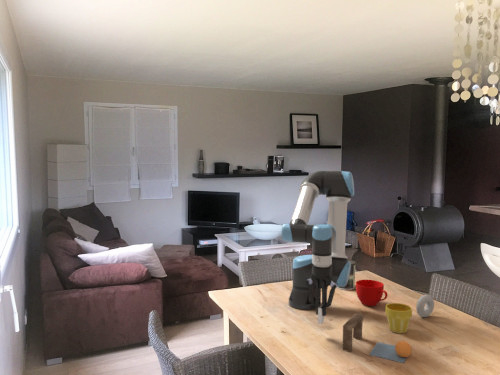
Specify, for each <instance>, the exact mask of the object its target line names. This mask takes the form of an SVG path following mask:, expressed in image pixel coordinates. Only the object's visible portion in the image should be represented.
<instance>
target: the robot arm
mask: <svg viewBox="0 0 500 375" xmlns="http://www.w3.org/2000/svg"><path fill="white" fill-rule="evenodd" d="M298 190H299V192H298V193H299V195H298V198H297V201H296V203H295V206H294V210H293V213H292V216H291V218H290V222H289V223H284V224H282V227H281V231H280V232H281V239H282V241H283V242H284V241H285V242H291V243H305V244H311V245H312V246H311V247H312V249H311V250H312V251H311V254H304V255H299V256H296V257H294V258H293V261H292V289H291V291H290V294H289V297H288V305H289V306H290V307H292V308H294V309H298V310H305V311H306V310H308V311H309V310H315V314H316V315H317V324H318V325H322V324H324V323H325V317H326V315H327V308H330V307H331V306H332V304H333V300H334V295H335V292H336V289H338V288H337V286H339V287H344V286H346V285H347V283H348V279H349V275H350V269H351V263H350V262H349V261H348V260H349V258H348V256H347V255H346V236H347V234H346V233H347V218H348V217H347V216H348V215H347V214H348V203H349V202H350V201H351V200H352V197H354V196H355V182H354V177H353V174H352V172H351V171H343V170H318V171H317V170H316V171H315V172H312V173H310V174H309V175H307V177H306V178H305V179H303V181H302V182H301V184H300V186H299V188H298ZM319 195H320V196H325V199H326V200H327V201H328V213H327V214H328V215H327V216H328V217H327V223H326V224H321V223H320V224H315V225H314V224H309V221H310V218H311V214H312V211H313V208H314V205H315V201H316V199H317V198H318V197H319ZM329 286H330V290H329V295H328V289H329Z"/></svg>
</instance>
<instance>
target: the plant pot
mask: <svg viewBox="0 0 500 375" xmlns="http://www.w3.org/2000/svg"><path fill="white" fill-rule="evenodd" d="M385 315H386V317H387V321H388V325H389V326H388V327H389V330H390V331H391V332H393V333H395V334H396V333H397V334H405V333H407V332H408V328H409V323H410V320H411V318H412V316H413V308H412V307H411V306H410V305H409V304H406V303H401V302H392V303H387V304H385Z"/></svg>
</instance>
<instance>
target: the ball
mask: <svg viewBox="0 0 500 375" xmlns="http://www.w3.org/2000/svg"><path fill="white" fill-rule="evenodd" d="M394 346H395V351H396V353H397V354H398V355H399V356H400V357H404V358H405V357H407V358H409V356H410V355H411V354H412V346H411V345H410V344H409V342H407V341H405V340H401V341H398V342H397V343H395V345H394Z"/></svg>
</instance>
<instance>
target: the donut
mask: <svg viewBox="0 0 500 375" xmlns="http://www.w3.org/2000/svg"><path fill="white" fill-rule="evenodd" d="M434 308H435V301H434V298H433V297H432V296H431V295H429V294H422V295H421V296H420V297H419V298H418V300H417V302H416V306H415V310H416V313H417V314H418V315H419V316H420V317H421V318H428V317H429V316H431V314H432V313H433V312H434Z"/></svg>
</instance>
